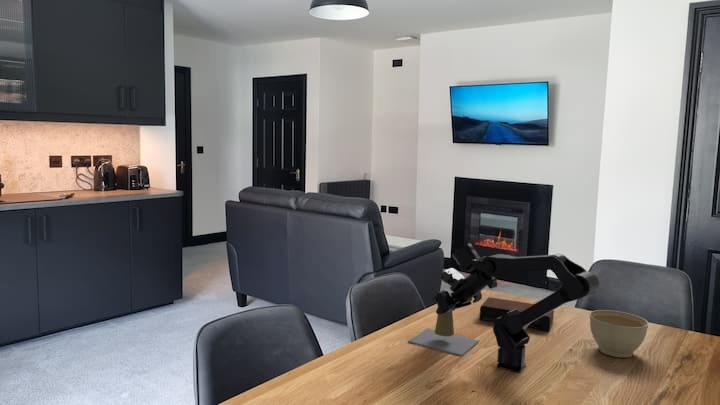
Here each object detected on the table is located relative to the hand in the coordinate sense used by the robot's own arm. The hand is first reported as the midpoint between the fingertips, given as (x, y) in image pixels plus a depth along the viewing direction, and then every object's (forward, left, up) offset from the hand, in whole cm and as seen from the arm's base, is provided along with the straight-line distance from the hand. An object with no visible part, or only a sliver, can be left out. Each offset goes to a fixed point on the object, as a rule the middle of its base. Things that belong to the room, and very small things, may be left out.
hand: (441, 311), depth 165 cm
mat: (-1, 0, -10) cm, 10 cm away
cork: (-1, 0, -7) cm, 7 cm away
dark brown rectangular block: (-14, -34, -10) cm, 38 cm away
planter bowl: (-47, -25, -10) cm, 54 cm away
